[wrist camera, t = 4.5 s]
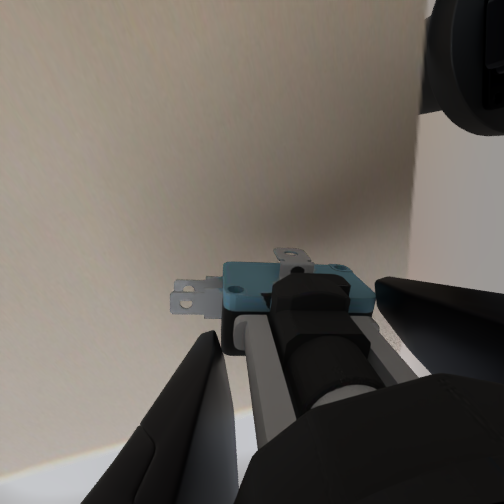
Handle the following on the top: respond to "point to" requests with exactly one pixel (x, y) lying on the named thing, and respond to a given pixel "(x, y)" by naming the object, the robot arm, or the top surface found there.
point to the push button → (345, 394)
